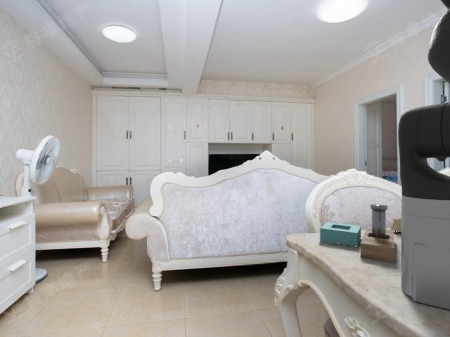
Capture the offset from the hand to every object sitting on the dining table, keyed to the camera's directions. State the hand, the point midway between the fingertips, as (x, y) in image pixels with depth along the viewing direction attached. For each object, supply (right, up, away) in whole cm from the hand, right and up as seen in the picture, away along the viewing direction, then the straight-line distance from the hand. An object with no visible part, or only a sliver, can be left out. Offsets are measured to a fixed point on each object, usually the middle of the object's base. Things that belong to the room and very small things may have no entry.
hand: (425, 159), depth 68 cm
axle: (-12, -24, +1) cm, 27 cm away
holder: (-19, -24, +9) cm, 32 cm away
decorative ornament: (+5, -25, +18) cm, 31 cm away
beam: (-12, -24, +1) cm, 27 cm away
